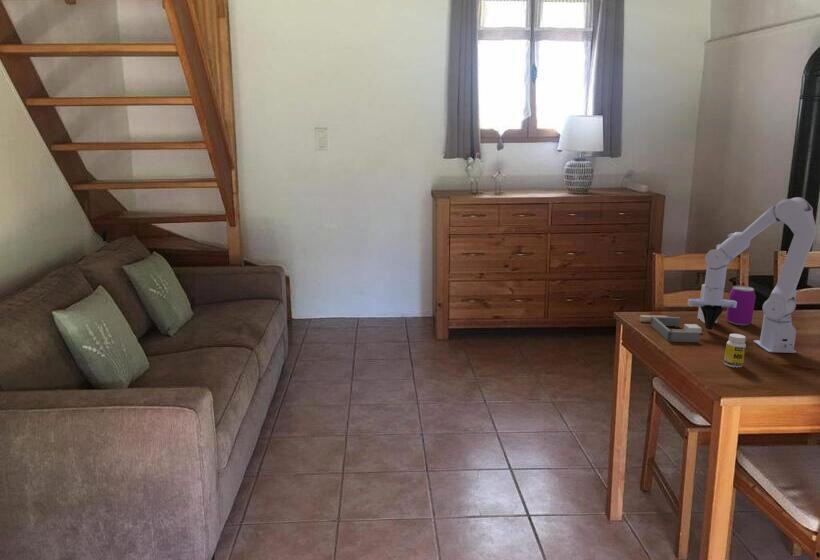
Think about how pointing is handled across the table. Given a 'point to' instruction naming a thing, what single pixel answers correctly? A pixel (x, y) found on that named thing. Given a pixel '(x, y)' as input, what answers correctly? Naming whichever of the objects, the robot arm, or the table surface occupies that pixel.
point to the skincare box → (700, 313)
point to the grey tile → (692, 328)
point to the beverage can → (741, 305)
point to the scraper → (648, 317)
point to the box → (673, 336)
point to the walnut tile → (677, 330)
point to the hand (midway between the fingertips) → (708, 328)
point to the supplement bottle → (735, 350)
